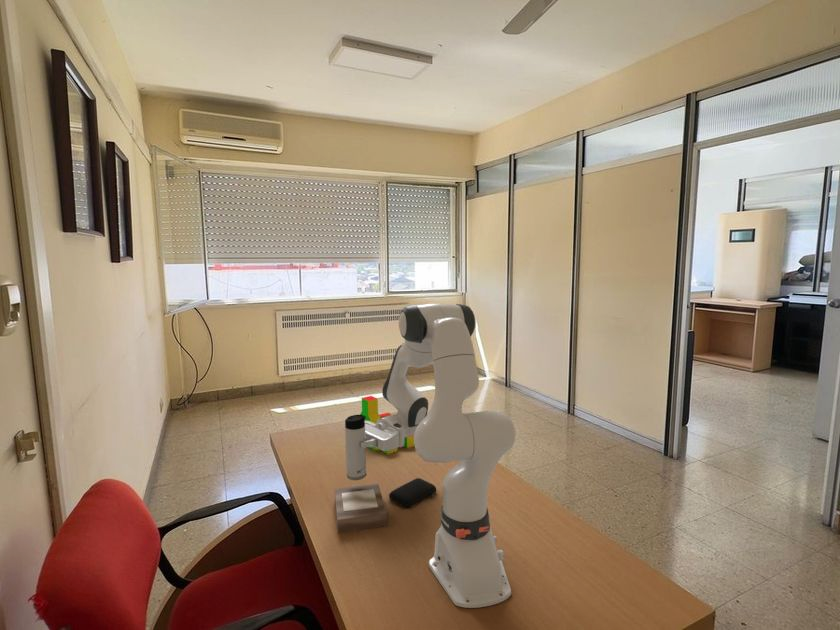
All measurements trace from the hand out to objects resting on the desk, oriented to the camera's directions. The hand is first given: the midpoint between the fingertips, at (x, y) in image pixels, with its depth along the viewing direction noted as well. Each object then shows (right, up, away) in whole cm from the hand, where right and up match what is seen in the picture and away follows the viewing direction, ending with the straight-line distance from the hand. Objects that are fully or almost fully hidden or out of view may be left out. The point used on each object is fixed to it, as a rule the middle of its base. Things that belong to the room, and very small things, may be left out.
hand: (353, 441), depth 139 cm
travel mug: (+1, -12, +2) cm, 12 cm away
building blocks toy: (+6, -13, +48) cm, 50 cm away
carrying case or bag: (+19, -19, +4) cm, 27 cm away
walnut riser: (+3, -20, -5) cm, 21 cm away
